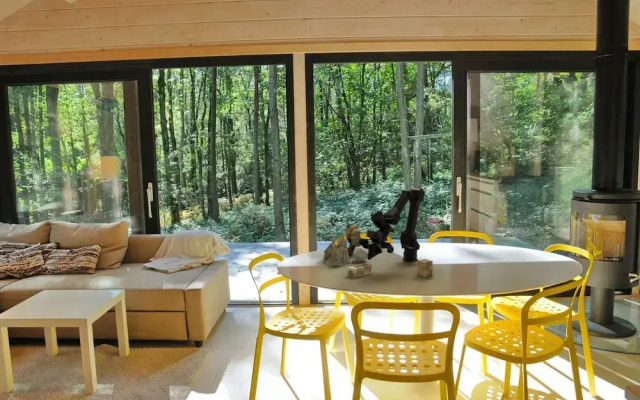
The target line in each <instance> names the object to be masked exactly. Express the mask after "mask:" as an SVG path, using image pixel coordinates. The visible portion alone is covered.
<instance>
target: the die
mask: <svg viewBox="0 0 640 400" xmlns="http://www.w3.org/2000/svg"><path fill="white" fill-rule="evenodd" d="M352 257H353V259H354V261H355V263H365V262H367V260H368V259H367V257H368V249H365V248H363V247H362V246H360V247H355V249H354V252H353V256H352Z"/></svg>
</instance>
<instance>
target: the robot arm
mask: <svg viewBox="0 0 640 400" xmlns="http://www.w3.org/2000/svg"><path fill="white" fill-rule="evenodd" d="M425 195H426V194H425V190H424V188H421V187H418V188H417V187H410V188H409V189H402V191H401V194H400V195H399V197H398V198H397V200H396V201H395V203H394V204H393V206H392V207H391V208H390V209H387V211H386V212H385V213H384V214H383V212H382V210H381V211H379V210H378V211H377V212H375V213H373V214H372V215H371V217H370V220H371V222H372V224H373V225H374V226H375V227H376V229H377V230H376V231H374V230H367V231H366V235H365V237H366V238H364V237H361V238H360V240H359V243H360V244H361V246H360V247H363V248H365V249H366V250H367V252H368V256H367V259H366V260H368V261H370V260H372V259H373V258H375V257H376V256H378V255H380V254H383V252H384V250H386V251H387V253H388V254H393V253H394V250H395V248H394V246H393V244H391V242H390V241H389V238H388V236H389V235H390V233H394V232H395V231H394V227H393V226H396V225H398V223H399V221H400V219H401V213H402V211H403V210H404V209H405V207H406V205H407V203H408V202H409V208H408V213H407V220H406V226H405V230H404V231H402V232H401V233H400V238H399V240H400V241H399V242H400V246H401V249H403V252H402V253H403V256H402V260H404V261H406V262H409V263H410V262H417V260H419V259H418V251H419V250H420V248H421V245H420V243H419V242H418V235H417V233H416V227H417V221H418V214H419V210H420V209H419V208H420V205H421V204H422V202H423V201H424V198H425ZM391 225H392V226H391ZM388 241H389V242H388Z"/></svg>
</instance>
